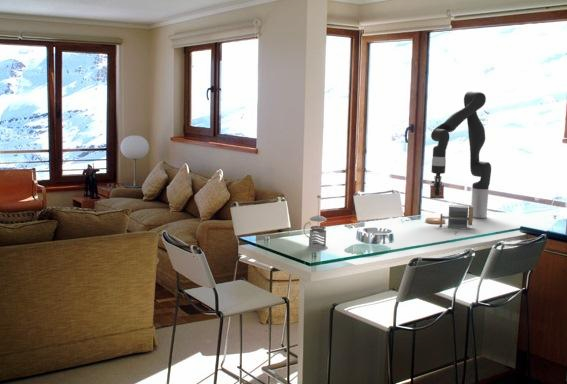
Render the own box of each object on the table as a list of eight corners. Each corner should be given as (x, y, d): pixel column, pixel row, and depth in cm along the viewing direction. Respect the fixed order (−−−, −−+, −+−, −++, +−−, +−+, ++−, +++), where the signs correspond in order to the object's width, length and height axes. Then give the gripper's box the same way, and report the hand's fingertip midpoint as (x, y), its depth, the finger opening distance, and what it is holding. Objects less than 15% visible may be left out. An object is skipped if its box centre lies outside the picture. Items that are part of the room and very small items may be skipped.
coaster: (425, 219, 386) (425, 217, 386) (445, 220, 384) (445, 218, 384) (425, 223, 376) (425, 220, 376) (445, 224, 373) (445, 221, 373)
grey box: (448, 225, 371) (449, 204, 369) (466, 226, 369) (467, 205, 367) (448, 227, 365) (449, 206, 363) (467, 228, 362) (468, 207, 361)
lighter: (442, 198, 379) (442, 180, 379) (444, 198, 376) (445, 180, 376) (429, 198, 378) (429, 180, 378) (431, 198, 375) (431, 180, 374)
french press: (329, 250, 308) (331, 196, 304) (304, 250, 307) (305, 196, 303) (326, 245, 317) (327, 193, 314) (302, 245, 316) (303, 193, 313)
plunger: (440, 224, 372) (441, 203, 370) (471, 226, 368) (472, 205, 366) (440, 226, 366) (441, 205, 364) (472, 228, 362) (473, 207, 360)
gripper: (445, 166, 367) (443, 196, 370) (445, 163, 381) (443, 193, 384) (431, 165, 369) (430, 196, 371) (431, 163, 383) (430, 192, 385)
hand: (436, 194), depth 377 cm, fingers closed on lighter, 4 cm apart
